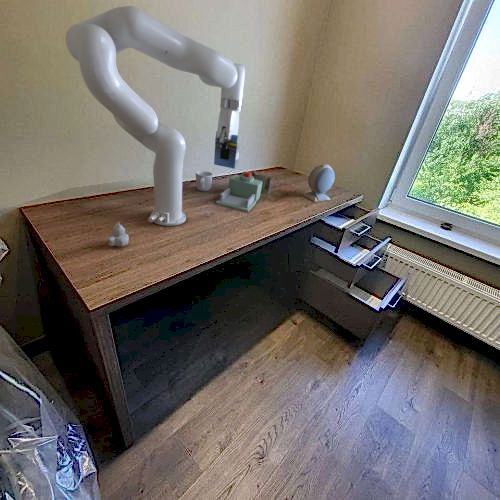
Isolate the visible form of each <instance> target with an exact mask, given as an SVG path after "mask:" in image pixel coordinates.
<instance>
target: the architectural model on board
mask: <svg viewBox="0 0 500 500" xmlns="http://www.w3.org/2000/svg"><path fill="white" fill-rule="evenodd" d="M251 171H252V172H251V175H252V176H253V177H254V179H255V180H260V181H263V183H262V188H261V193H263V194H266V195H269V194H271V192H272V191H275V189H273V188H272V185H273V180H274V178H272V177H269V176H266V175H262V174H260V173H258V172H257V170H255V169H252V170H251Z"/></svg>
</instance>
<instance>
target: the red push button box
mask: <svg viewBox="0 0 500 500" xmlns="http://www.w3.org/2000/svg"><path fill="white" fill-rule="evenodd" d="M262 183H263V181H260V180H255V179H254V177H253V176H252V175H251V178H247V177H243V173H241V174H234V175H233V176H231V177H230V178H229V179H228V188H231V190H230V195H234V196H238V197H242V198H246V199H248V198H249V197H250V196H251V195H252V194H255V198H254V201H256V202H257V201H258V200H259V199H260V198H261V195H262V194H261V193H262V192H261V188H262Z"/></svg>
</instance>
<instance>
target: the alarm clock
mask: <svg viewBox="0 0 500 500" xmlns="http://www.w3.org/2000/svg"><path fill="white" fill-rule="evenodd" d="M335 176H336V174H335V171H334V169H333V168H332V167H331V165H329V164H327V163H321V164H320V165H317V166H315V167H313V169H312V170H311V171H310V173H309V176H308V179H307V183H308V186H309V188H310V190H311V191H309V192H306V193H303V194H302V196H303V197H305V198H307V199H310V200H311V201H312V202H315V203H317V202H324V201H325V202H326V201H331V200H332V199H331V198H330V197H329V196H328V195H327V194H326V193H327V192H328V191H329V190H330V189H331V188H332V187H333V184H334V182H335V178H336V177H335Z"/></svg>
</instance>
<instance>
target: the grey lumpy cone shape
mask: <svg viewBox="0 0 500 500" xmlns="http://www.w3.org/2000/svg"><path fill="white" fill-rule="evenodd" d="M111 229H112V233H111V234H110V235H109V236H108V237H107V238H106V242H107V243H108V246H109V247H114V246H116V247H118V248H122V247H125V246H127V245H128V244H129V242H130V236H129V235H128V233H126V228H125V227H124V226H123V225H122V224H120V221H118V222H117V223H115V224H114V225H113V227H112V228H111Z"/></svg>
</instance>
